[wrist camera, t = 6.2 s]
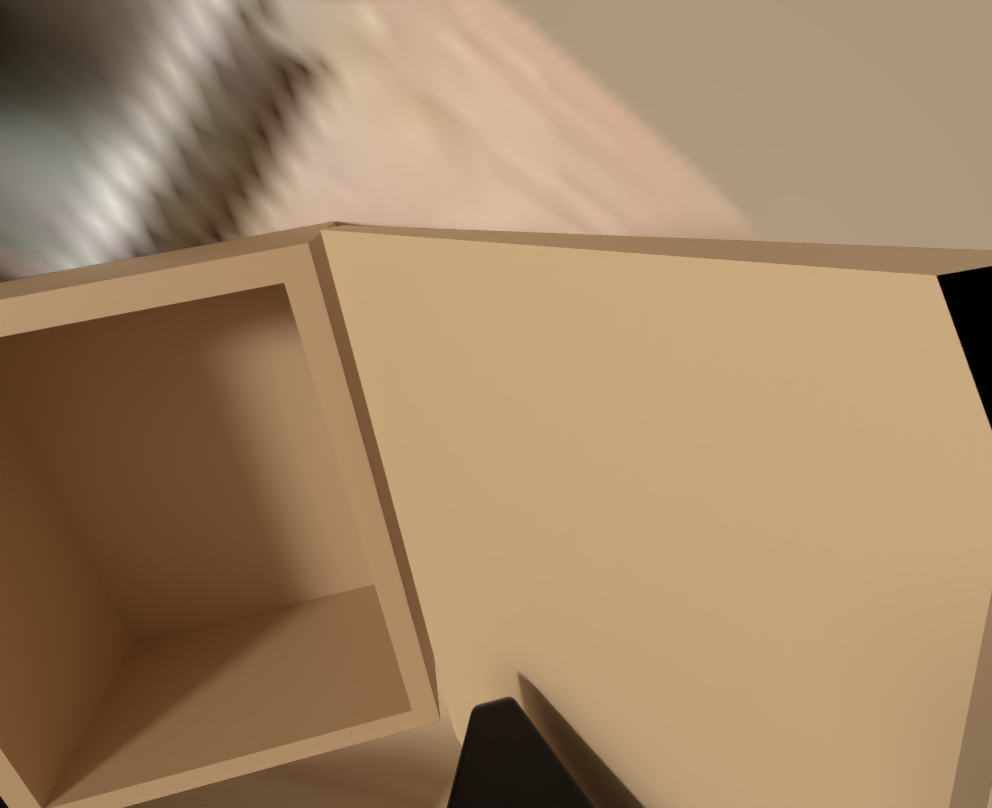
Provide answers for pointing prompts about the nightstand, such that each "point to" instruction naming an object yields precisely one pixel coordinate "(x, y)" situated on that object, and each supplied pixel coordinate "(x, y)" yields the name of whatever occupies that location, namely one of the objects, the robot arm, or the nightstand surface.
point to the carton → (193, 529)
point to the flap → (695, 503)
